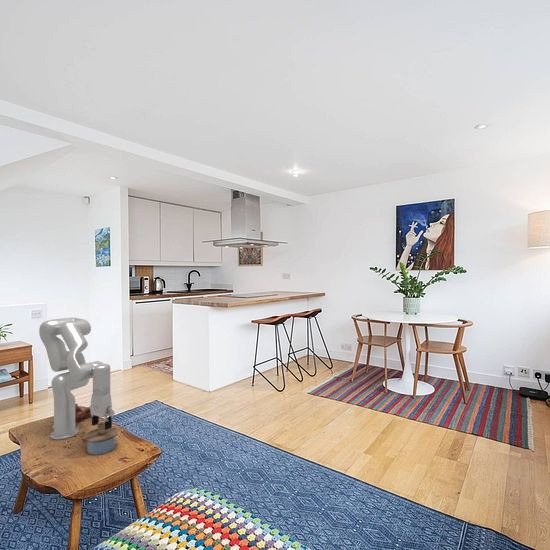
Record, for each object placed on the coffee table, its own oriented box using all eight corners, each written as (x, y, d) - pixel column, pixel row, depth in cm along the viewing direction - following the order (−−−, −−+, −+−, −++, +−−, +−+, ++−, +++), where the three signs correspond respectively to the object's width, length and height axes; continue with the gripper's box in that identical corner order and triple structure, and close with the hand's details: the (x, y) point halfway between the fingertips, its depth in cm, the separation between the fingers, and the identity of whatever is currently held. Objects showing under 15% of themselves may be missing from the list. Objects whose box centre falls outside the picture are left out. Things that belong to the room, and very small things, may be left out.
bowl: (82, 450, 163) (82, 437, 163) (105, 440, 173) (105, 428, 173) (98, 456, 158) (98, 443, 158) (120, 445, 168) (120, 433, 168)
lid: (78, 438, 162) (78, 426, 162) (104, 426, 175) (104, 415, 175) (98, 445, 156) (98, 433, 156) (124, 432, 169) (124, 421, 169)
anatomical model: (97, 406, 202) (77, 389, 201) (79, 425, 192) (58, 407, 190) (92, 412, 209) (73, 395, 207) (74, 430, 198) (54, 413, 197)
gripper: (82, 390, 166) (83, 425, 166) (106, 396, 158) (106, 433, 158) (97, 385, 173) (97, 420, 173) (120, 391, 165) (120, 427, 165)
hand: (101, 426), depth 166 cm, fingers open, 9 cm apart
